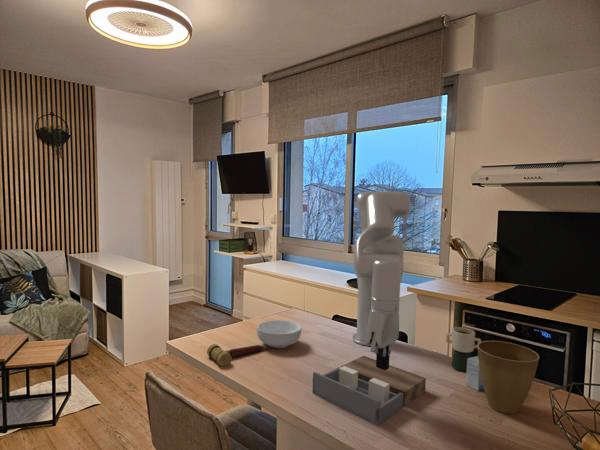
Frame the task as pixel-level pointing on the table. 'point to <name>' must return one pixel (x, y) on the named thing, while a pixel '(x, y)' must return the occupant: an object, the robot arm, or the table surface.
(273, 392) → the table surface
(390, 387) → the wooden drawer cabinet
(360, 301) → the robot arm
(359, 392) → the tray
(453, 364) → the character mug
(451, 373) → the table surface
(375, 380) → the tile
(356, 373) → the white square tile
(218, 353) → the gavel
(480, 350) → the plant pot
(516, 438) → the table surface
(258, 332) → the cereal bowl
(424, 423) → the table surface
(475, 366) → the medicine box
